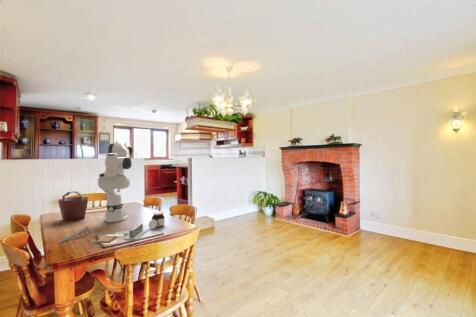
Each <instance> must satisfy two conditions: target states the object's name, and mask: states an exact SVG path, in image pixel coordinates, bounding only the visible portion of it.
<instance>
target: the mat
mask: <svg viewBox="0 0 476 317" xmlns="http://www.w3.org/2000/svg"><path fill="white" fill-rule="evenodd" d="M122 233H123V232H122ZM106 234H114V233H108V232H107V233H106ZM123 234H124V235H125V237H127V236H128V235H129V233H126V232H125V233H123ZM98 239H99V238H97V239H95V240H94V241H92V242H91V243H89V245H90V246H91V245H92V246H93V245H94V246H98V245H101V243H97V241H98ZM113 245H115V244H113ZM113 245H112V246H113Z"/></svg>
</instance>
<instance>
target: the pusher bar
mask: <svg viewBox="0 0 476 317" xmlns="http://www.w3.org/2000/svg"><path fill="white" fill-rule="evenodd" d="M143 226H144V223H138V224H137V225H135V226H133V227H132V228H131V229H129V230H128V231H129V234H128V235H129V238H134V237H135V236H136V235H137V234H139V233H140V232H141V231H142V230H143V229H144V228H143Z"/></svg>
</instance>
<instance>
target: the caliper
mask: <svg viewBox="0 0 476 317" xmlns="http://www.w3.org/2000/svg"><path fill="white" fill-rule="evenodd" d="M90 232H91V231H90V228H89V227H88V226H86V227H84V229H82V230H80V231H78V232H76V233H74V234H72V235H70V236H67V237H65V238H62V239H61V240H59V241H58V242H57V244H60V243H61V244H62V243H64V242H67V241H69V240H70V239H73V238H75V237H77V236H82V235H83V234H84V235H85V236H87V235H90Z"/></svg>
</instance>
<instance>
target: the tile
mask: <svg viewBox="0 0 476 317" xmlns="http://www.w3.org/2000/svg"><path fill="white" fill-rule="evenodd" d="M103 236H104V235H103ZM100 238H101V237H100ZM116 238H117V236H104V237H103V238H101V239H100V240H98V241H97V243H110V242H111V241H113V240H114V239H116Z"/></svg>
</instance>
